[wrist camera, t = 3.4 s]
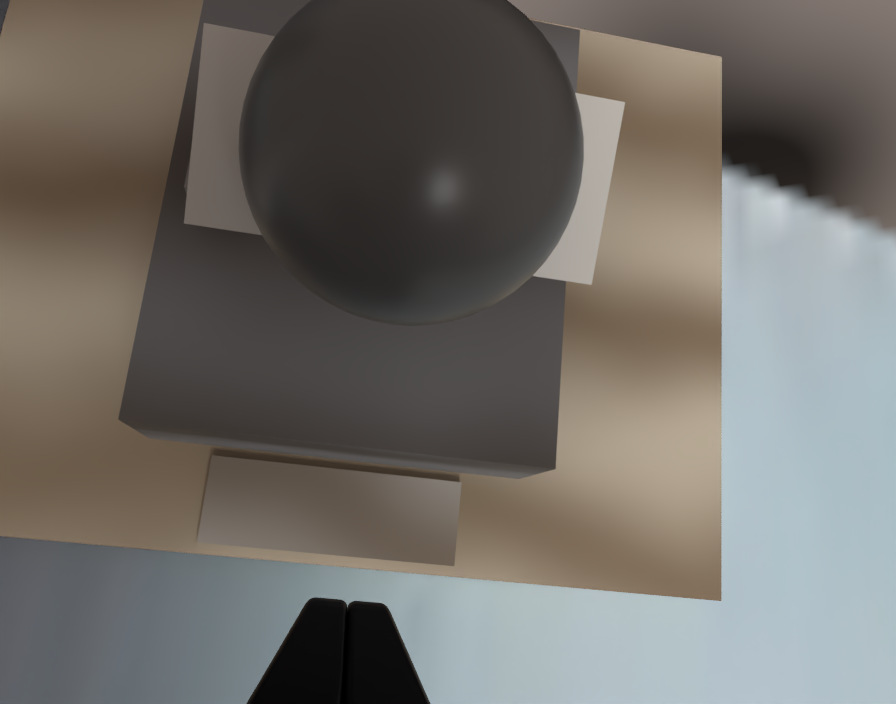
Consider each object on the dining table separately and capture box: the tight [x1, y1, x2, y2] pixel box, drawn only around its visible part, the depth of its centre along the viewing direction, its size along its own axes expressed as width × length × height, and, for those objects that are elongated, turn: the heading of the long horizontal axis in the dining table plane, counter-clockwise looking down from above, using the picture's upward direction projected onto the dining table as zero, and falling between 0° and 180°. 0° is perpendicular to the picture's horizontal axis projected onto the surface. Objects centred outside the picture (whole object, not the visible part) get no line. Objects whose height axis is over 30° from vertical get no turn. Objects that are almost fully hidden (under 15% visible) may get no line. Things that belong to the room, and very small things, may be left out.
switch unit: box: [0, 0, 722, 601], centre depth 18 cm, size 16×20×5 cm
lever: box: [184, 0, 625, 326], centre depth 11 cm, size 3×4×11 cm
